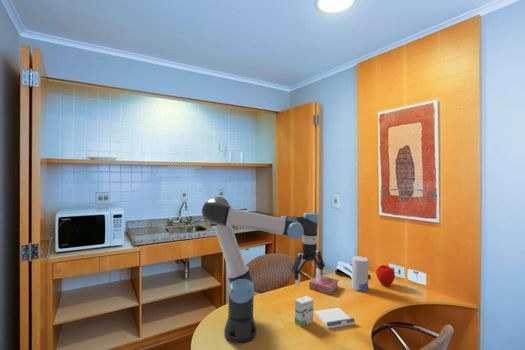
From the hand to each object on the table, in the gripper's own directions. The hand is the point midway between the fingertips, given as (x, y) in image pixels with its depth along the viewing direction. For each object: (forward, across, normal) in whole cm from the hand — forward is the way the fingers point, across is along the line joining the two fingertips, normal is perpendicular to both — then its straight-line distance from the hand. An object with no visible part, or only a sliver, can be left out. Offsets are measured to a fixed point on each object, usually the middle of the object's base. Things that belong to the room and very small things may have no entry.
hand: (307, 283), depth 138 cm
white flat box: (+18, +12, -7) cm, 23 cm away
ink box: (+19, -4, -2) cm, 19 cm away
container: (+18, +53, +11) cm, 57 cm away
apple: (+18, +72, +6) cm, 75 cm away
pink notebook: (+19, +32, +22) cm, 43 cm away
